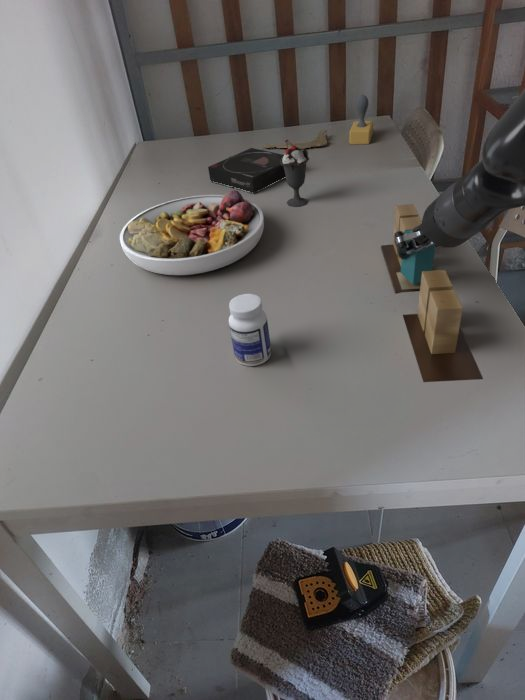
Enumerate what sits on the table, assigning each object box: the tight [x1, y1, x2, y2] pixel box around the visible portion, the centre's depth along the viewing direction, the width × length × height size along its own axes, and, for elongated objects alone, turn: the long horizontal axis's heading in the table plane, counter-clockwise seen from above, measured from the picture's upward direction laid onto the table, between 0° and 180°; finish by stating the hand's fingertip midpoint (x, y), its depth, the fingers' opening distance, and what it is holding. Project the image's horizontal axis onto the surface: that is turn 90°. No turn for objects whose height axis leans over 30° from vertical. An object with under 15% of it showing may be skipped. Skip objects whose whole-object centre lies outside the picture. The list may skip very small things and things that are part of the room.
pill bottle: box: [228, 293, 272, 367], centre depth 77 cm, size 6×6×10 cm
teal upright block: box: [401, 229, 436, 285], centre depth 88 cm, size 3×5×8 cm
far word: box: [380, 203, 435, 295], centre depth 92 cm, size 8×17×9 cm, turn 178°
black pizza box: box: [207, 147, 286, 194], centre depth 137 cm, size 16×17×4 cm
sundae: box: [280, 139, 310, 208], centre depth 118 cm, size 7×7×15 cm
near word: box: [402, 269, 484, 383], centre depth 75 cm, size 8×16×9 cm, turn 178°
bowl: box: [119, 189, 265, 276], centre depth 108 cm, size 30×30×8 cm
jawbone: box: [262, 129, 329, 150], centre depth 153 cm, size 9×20×2 cm, turn 105°
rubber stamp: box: [349, 94, 374, 145], centre depth 150 cm, size 10×6×12 cm, turn 165°
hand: (411, 251), depth 89 cm, fingers closed on teal upright block, 3 cm apart
